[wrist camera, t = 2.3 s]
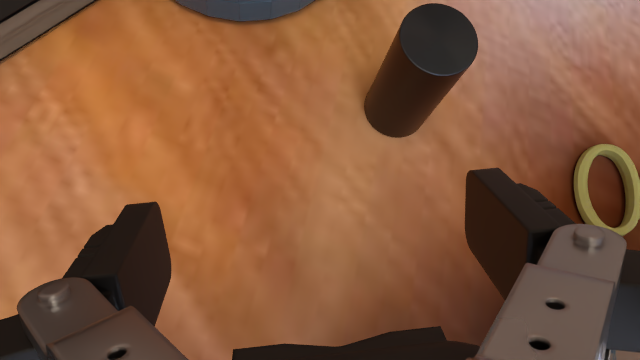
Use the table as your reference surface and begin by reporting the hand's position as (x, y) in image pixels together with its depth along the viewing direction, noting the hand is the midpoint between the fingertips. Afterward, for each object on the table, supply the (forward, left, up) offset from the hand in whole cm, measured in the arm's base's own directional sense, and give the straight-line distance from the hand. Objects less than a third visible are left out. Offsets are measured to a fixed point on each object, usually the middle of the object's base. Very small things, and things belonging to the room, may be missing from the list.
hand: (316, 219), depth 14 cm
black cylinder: (+7, +15, -24) cm, 29 cm away
